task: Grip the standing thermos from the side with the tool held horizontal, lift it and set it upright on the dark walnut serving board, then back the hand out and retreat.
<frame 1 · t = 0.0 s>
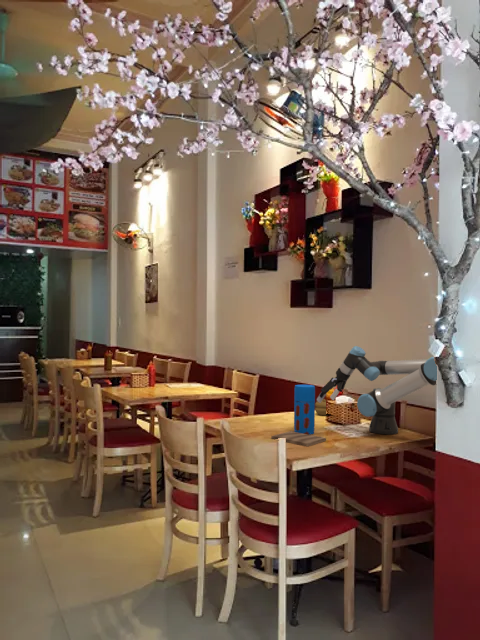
hand: (325, 400, 293), 15 cm above the table, tool tilted 35°, fingers open, 13 cm apart
serving board: (298, 439, 261), on the table
pot: (324, 415, 330), on the table
thermos: (304, 432, 278), on the table
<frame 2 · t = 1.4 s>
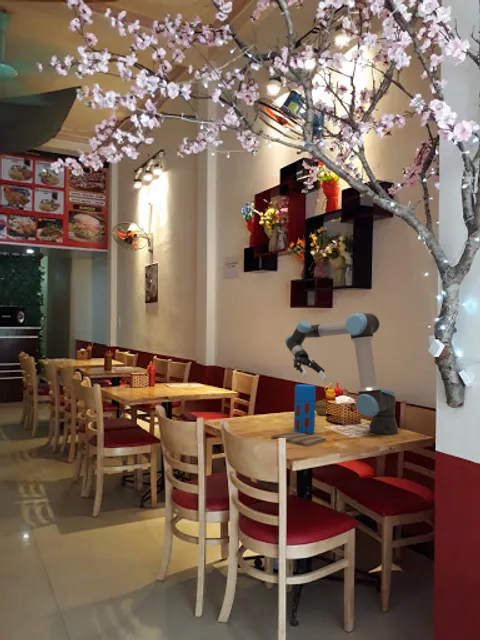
hand: (315, 377, 284), 29 cm above the table, tool tilted 60°, fingers open, 13 cm apart
nothing on the table moved.
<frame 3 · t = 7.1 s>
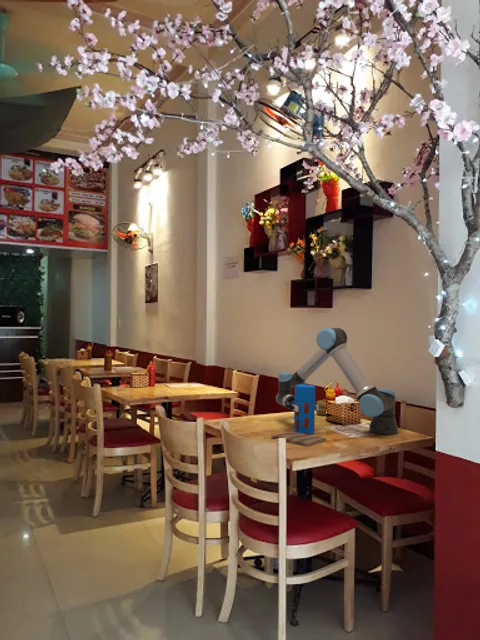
hand: (307, 408, 274), 14 cm above the table, tool horizontal, fingers closed on thermos, 11 cm apart
thermos: (304, 432, 278), on the table, touching gripper
everything else where it was.
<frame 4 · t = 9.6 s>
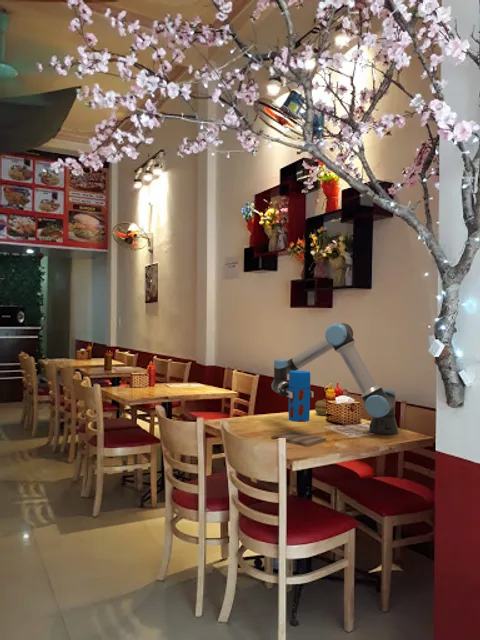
hand: (302, 395, 265), 22 cm above the table, tool horizontal, fingers closed on thermos, 11 cm apart
thermos: (298, 420, 269), point 8 cm above the table, touching gripper
everything else where it was.
when the fingers open (16 cm above the table, at t = 12.1 s): thermos drops 1 cm, resting on serving board.
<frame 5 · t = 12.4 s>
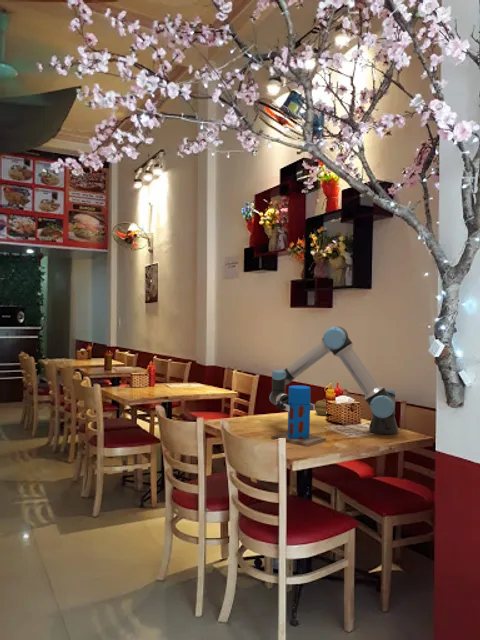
hand: (301, 408, 258), 16 cm above the table, tool horizontal, fingers open, 13 cm apart
thermos: (298, 437, 261), point 1 cm above the table, touching serving board
everything else where it was.
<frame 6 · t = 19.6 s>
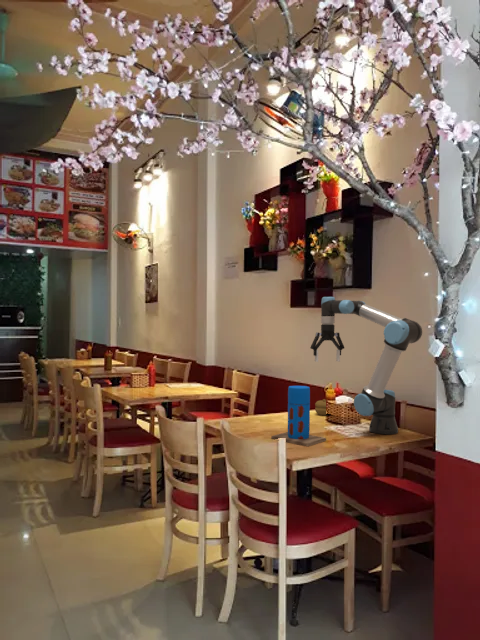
hand: (327, 361, 296), 37 cm above the table, tool pointing down, fingers open, 13 cm apart
nothing on the table moved.
at the end: thermos inside the target area on the serving board (0.1 cm from its centre), point 1.3 cm above the serving board's base; thermos tilted 0°; the gripper is holding nothing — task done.
